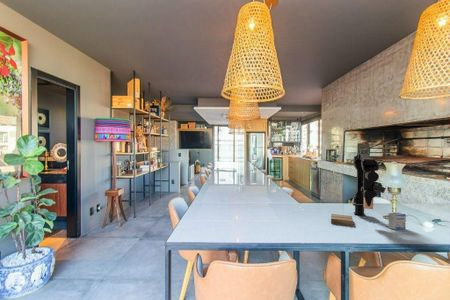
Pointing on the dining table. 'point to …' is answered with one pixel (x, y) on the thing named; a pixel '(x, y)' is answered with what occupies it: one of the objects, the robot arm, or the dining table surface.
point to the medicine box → (397, 221)
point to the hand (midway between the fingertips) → (368, 205)
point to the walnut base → (341, 219)
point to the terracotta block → (367, 205)
